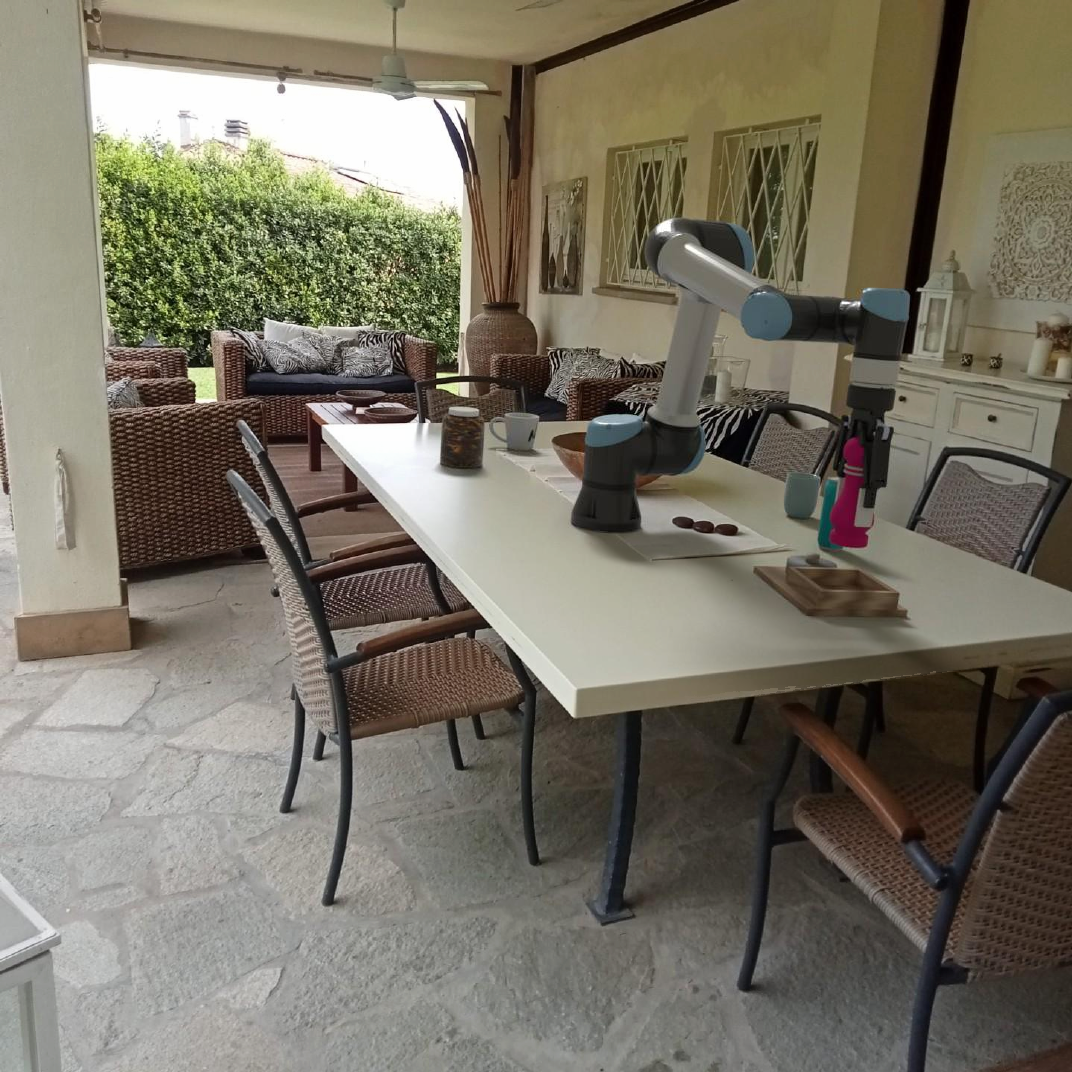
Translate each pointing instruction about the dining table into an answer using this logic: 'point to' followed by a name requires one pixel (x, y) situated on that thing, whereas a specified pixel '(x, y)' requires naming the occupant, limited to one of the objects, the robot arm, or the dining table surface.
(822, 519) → the beverage can
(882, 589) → the pulley board
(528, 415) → the mug
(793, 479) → the cup
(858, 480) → the pepper mill
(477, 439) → the jar
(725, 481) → the dining table surface
